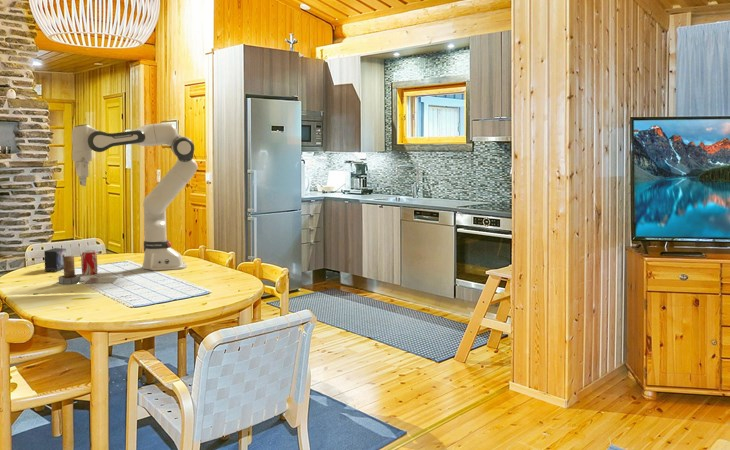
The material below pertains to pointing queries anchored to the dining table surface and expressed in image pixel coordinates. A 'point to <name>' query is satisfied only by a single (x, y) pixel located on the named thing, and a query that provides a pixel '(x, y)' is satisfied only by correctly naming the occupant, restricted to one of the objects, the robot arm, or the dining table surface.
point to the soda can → (89, 263)
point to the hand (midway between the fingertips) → (82, 185)
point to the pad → (101, 280)
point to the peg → (69, 266)
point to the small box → (54, 259)
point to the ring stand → (69, 281)
